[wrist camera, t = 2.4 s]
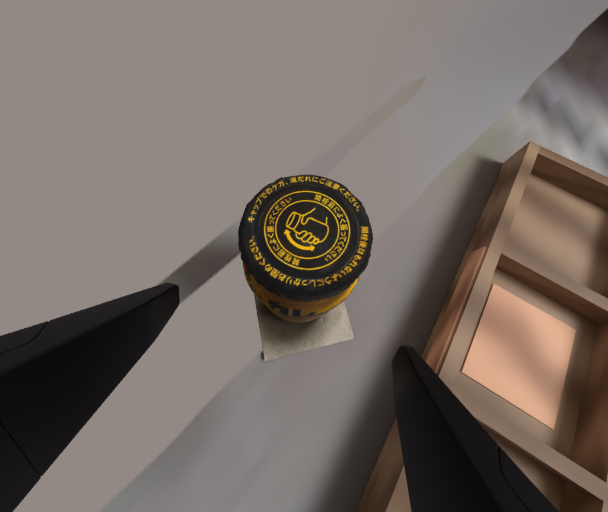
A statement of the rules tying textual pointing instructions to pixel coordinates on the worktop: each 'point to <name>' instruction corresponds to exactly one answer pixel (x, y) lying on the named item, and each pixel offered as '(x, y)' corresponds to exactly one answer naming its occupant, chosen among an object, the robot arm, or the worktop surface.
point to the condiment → (303, 261)
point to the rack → (528, 334)
